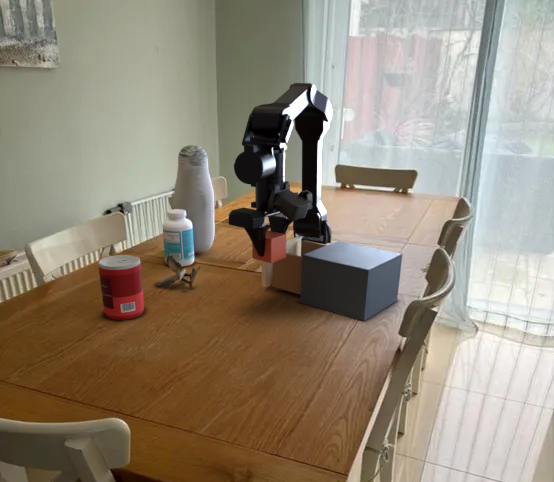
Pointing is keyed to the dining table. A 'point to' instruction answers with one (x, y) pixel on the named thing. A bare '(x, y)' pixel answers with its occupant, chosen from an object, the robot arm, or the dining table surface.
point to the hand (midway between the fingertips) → (269, 253)
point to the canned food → (121, 286)
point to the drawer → (288, 266)
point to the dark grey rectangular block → (350, 279)
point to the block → (272, 248)
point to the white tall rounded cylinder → (196, 195)
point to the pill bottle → (178, 237)
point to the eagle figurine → (178, 273)
